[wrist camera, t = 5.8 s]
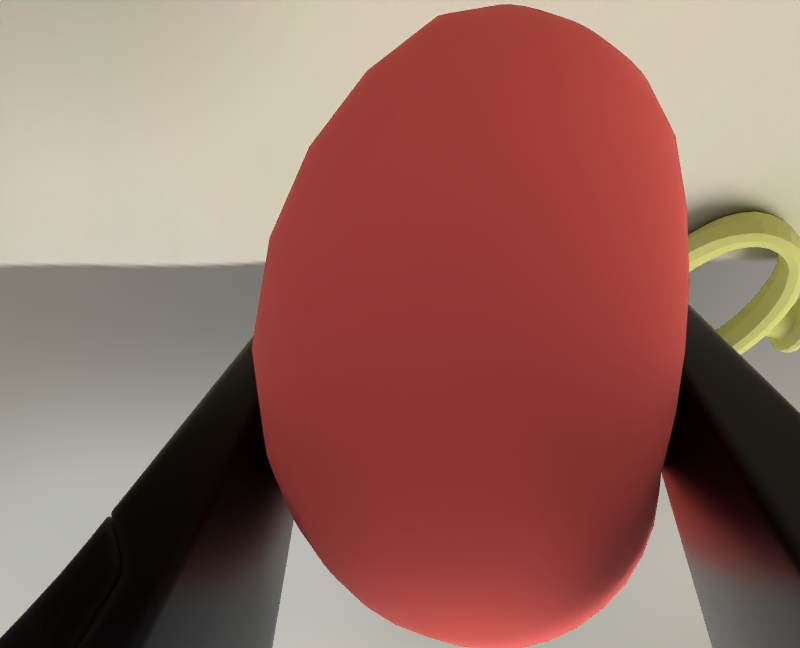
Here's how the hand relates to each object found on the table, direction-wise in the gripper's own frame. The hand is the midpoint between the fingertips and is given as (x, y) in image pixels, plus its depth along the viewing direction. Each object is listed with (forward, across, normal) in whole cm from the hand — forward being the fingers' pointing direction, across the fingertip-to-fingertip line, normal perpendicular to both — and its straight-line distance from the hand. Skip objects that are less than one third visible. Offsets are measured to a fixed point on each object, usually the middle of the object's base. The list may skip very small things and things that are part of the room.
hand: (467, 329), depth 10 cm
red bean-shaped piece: (+1, 0, 0) cm, 1 cm away
